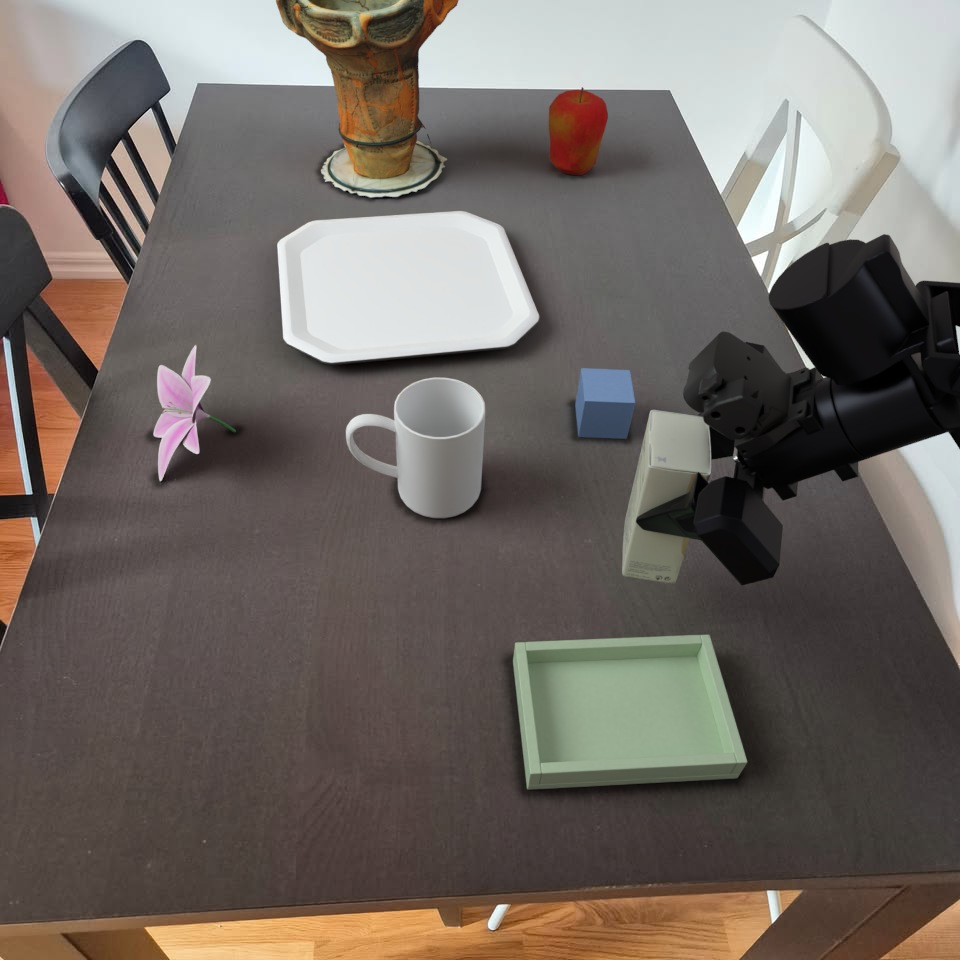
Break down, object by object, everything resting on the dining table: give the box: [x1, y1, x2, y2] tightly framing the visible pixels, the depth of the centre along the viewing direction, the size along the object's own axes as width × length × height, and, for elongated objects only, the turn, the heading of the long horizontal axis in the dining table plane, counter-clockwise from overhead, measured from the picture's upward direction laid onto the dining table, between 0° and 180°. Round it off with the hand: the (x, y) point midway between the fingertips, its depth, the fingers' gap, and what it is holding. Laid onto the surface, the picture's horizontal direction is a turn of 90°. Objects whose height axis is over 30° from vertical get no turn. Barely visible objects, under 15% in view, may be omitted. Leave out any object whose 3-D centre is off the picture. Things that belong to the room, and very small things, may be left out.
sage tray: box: [512, 634, 748, 791], centre depth 63 cm, size 16×11×3 cm
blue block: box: [574, 367, 636, 440], centre depth 85 cm, size 5×5×5 cm
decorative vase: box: [275, 0, 459, 199], centre depth 111 cm, size 21×23×28 cm
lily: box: [153, 344, 237, 482], centre depth 80 cm, size 12×12×10 cm
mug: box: [345, 377, 486, 519], centre depth 75 cm, size 12×8×10 cm, turn 99°
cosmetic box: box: [621, 409, 712, 584], centre depth 62 cm, size 6×4×12 cm
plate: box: [276, 210, 541, 366], centre depth 100 cm, size 29×29×2 cm
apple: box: [548, 87, 609, 176], centre depth 119 cm, size 9×8×12 cm
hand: (647, 491), depth 62 cm, fingers closed on cosmetic box, 6 cm apart
